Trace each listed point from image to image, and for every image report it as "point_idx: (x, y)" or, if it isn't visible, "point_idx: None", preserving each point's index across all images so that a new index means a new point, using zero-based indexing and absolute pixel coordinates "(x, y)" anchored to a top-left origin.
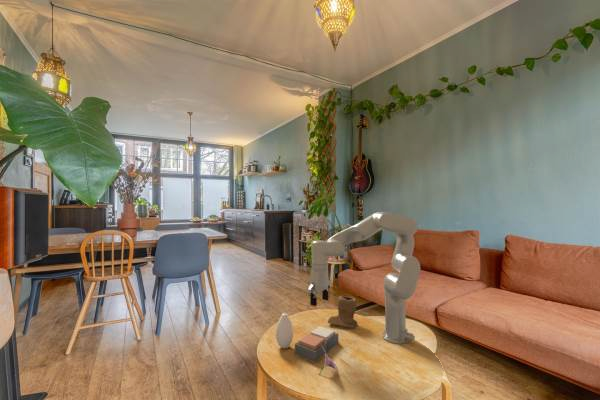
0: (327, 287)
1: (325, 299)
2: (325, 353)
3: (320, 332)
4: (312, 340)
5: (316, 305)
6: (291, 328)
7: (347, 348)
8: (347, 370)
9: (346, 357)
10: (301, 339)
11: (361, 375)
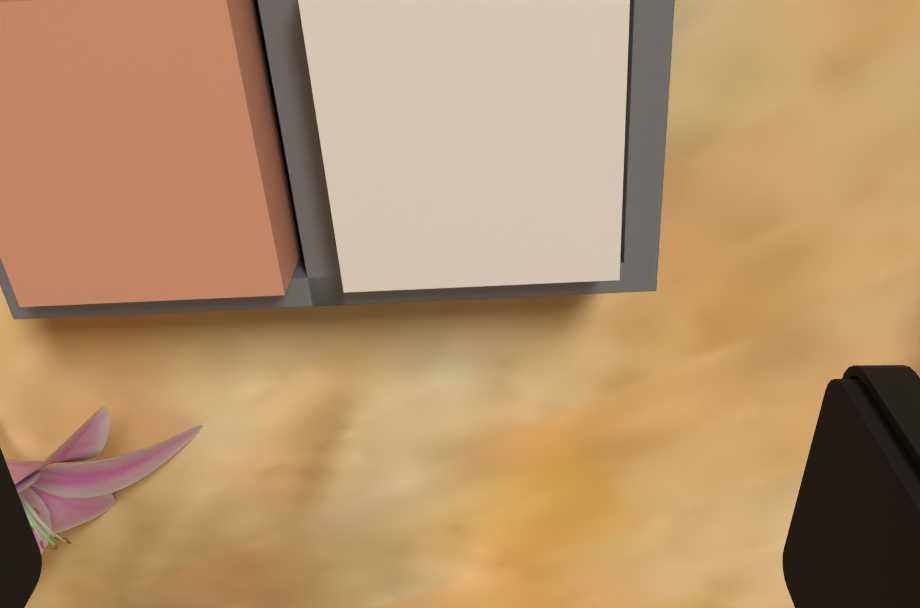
0: None
1: (806, 517)
2: (38, 467)
3: (414, 133)
4: (103, 191)
5: (16, 590)
6: None
7: (578, 361)
8: (231, 515)
9: (406, 428)
10: None
11: (262, 605)
